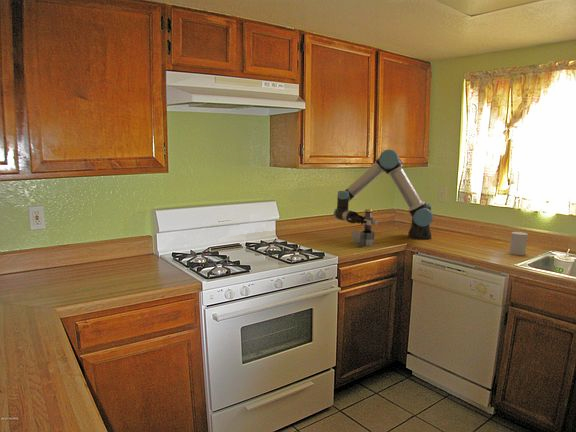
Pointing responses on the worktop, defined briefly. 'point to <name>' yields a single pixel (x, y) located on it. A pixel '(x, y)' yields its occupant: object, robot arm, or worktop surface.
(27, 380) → the worktop surface
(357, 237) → the hinge
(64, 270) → the worktop surface
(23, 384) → the worktop surface
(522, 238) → the cup
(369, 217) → the hinge pin
